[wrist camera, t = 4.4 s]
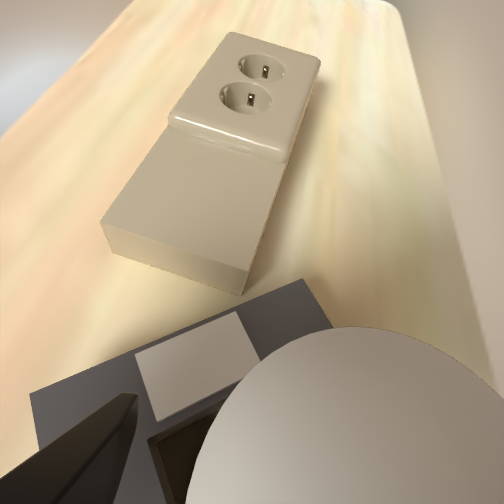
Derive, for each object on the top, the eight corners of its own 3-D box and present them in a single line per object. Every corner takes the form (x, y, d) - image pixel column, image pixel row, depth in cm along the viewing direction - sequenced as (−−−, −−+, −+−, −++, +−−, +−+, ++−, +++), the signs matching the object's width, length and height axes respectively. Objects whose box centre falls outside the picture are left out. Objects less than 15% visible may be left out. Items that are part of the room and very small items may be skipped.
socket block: (428, 548, 13) (494, 574, 10) (146, 798, 9) (121, 954, 6) (287, 304, 17) (304, 274, 15) (60, 405, 14) (24, 391, 11)
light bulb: (299, 498, 13) (705, 654, 3) (215, 556, 12) (360, 1281, 1) (257, 408, 15) (413, 281, 4) (179, 451, 13) (116, 426, 3)
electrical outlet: (94, 209, 15) (228, 27, 24) (114, 256, 18) (224, 81, 28) (250, 260, 14) (323, 56, 24) (240, 299, 18) (307, 106, 27)
